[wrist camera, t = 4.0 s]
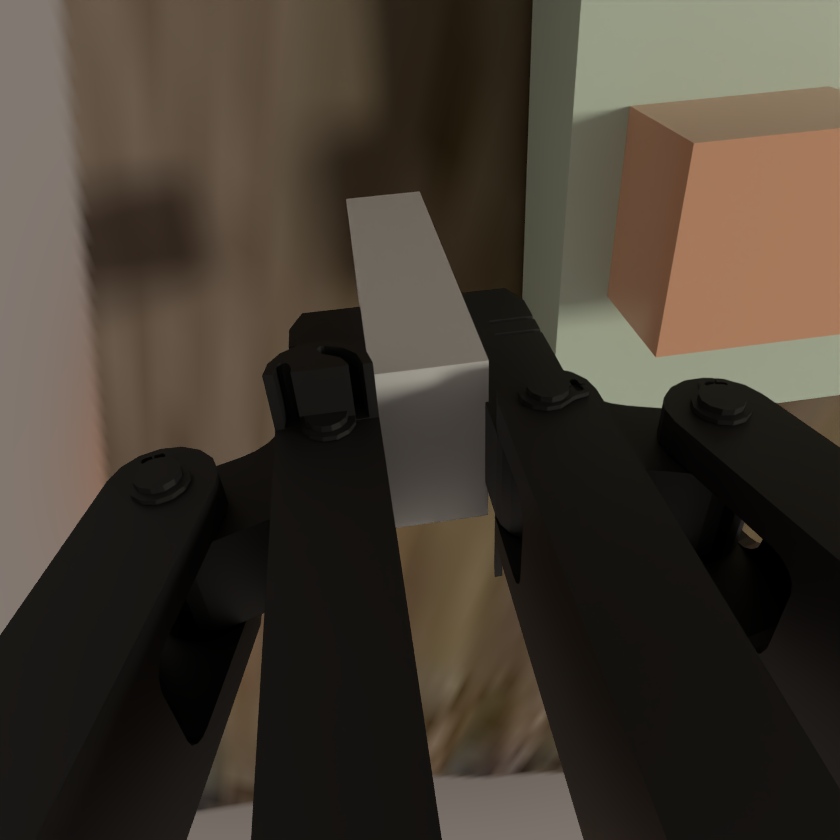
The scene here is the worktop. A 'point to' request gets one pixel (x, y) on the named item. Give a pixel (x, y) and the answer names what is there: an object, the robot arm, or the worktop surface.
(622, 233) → the tile
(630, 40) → the board
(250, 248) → the worktop surface
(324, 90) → the worktop surface
